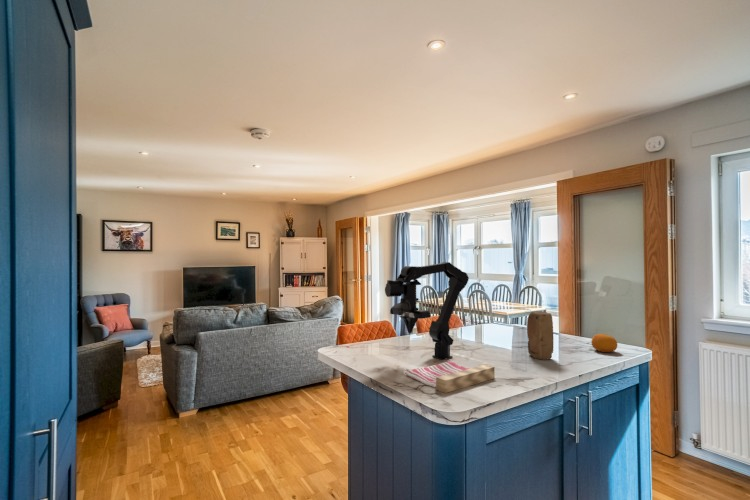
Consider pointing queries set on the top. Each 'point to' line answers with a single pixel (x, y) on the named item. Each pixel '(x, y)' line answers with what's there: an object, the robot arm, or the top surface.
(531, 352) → the block
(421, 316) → the robot arm
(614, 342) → the fruit
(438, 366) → the dish towel
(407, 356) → the top surface
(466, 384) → the tan wooden bar
